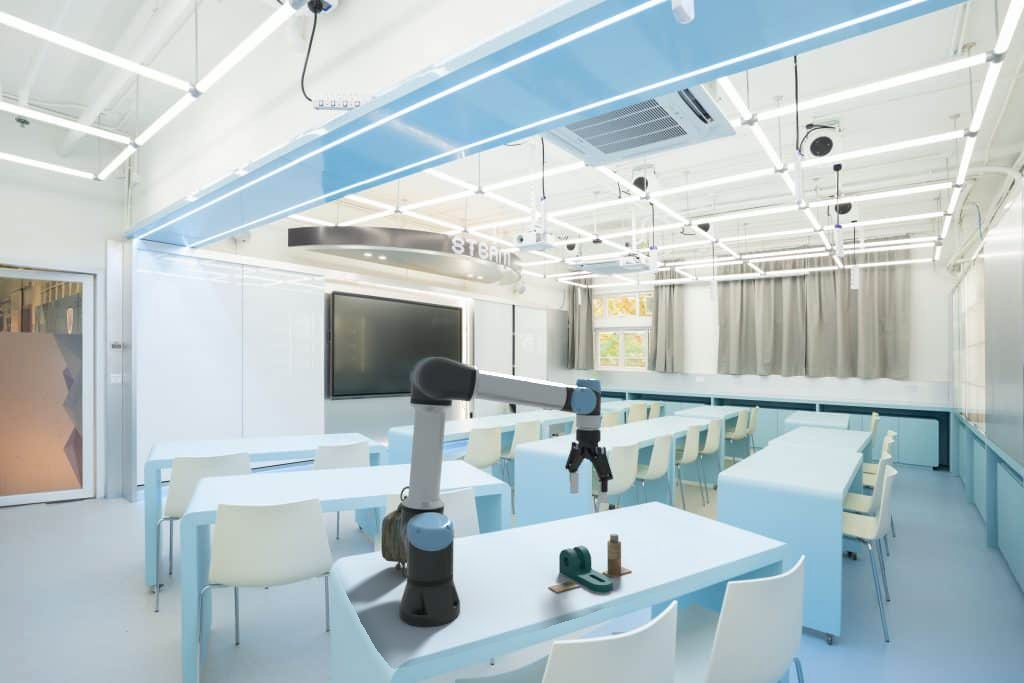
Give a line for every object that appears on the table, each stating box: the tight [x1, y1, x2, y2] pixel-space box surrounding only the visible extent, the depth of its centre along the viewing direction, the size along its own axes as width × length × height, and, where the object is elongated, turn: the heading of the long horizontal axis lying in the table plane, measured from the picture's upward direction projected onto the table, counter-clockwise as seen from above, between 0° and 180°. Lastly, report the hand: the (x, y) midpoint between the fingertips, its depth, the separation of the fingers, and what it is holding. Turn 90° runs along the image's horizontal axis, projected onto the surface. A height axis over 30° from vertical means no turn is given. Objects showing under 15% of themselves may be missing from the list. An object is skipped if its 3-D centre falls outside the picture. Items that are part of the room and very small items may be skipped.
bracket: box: [558, 545, 614, 594], centre depth 156 cm, size 18×7×8 cm, turn 32°
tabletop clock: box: [380, 485, 409, 578], centre depth 165 cm, size 14×9×25 cm, turn 166°
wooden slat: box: [548, 566, 633, 594], centre depth 156 cm, size 28×4×1 cm, turn 122°
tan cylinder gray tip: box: [606, 533, 622, 576], centre depth 161 cm, size 4×4×11 cm
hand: (587, 498), depth 166 cm, fingers open, 13 cm apart
